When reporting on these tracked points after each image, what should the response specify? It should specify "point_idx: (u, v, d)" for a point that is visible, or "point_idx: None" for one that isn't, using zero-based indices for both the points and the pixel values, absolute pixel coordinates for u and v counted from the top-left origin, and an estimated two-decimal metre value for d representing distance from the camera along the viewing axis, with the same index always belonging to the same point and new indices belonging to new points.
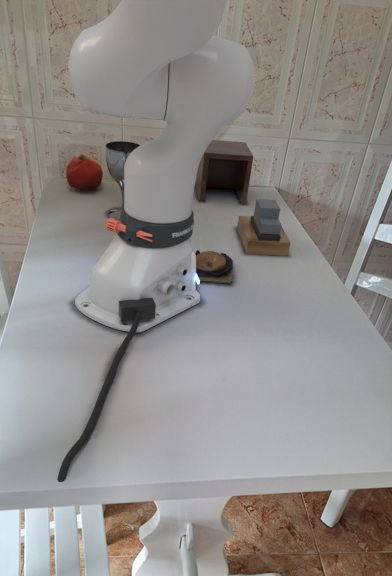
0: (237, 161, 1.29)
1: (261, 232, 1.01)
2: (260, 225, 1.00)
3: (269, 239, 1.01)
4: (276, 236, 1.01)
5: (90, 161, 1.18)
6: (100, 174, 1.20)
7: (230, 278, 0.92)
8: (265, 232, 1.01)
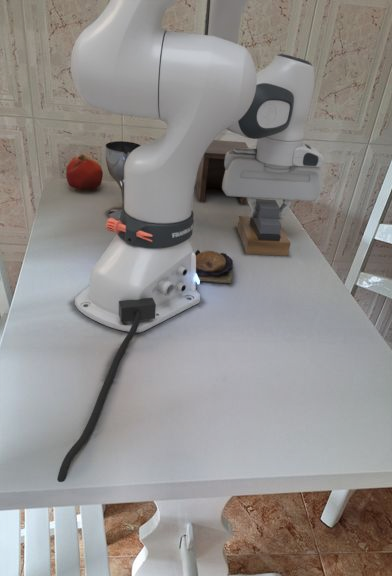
0: None
1: (261, 232, 1.01)
2: (260, 225, 1.00)
3: (269, 239, 1.01)
4: (276, 236, 1.01)
5: (90, 161, 1.18)
6: (100, 174, 1.20)
7: (230, 278, 0.92)
8: (265, 232, 1.01)
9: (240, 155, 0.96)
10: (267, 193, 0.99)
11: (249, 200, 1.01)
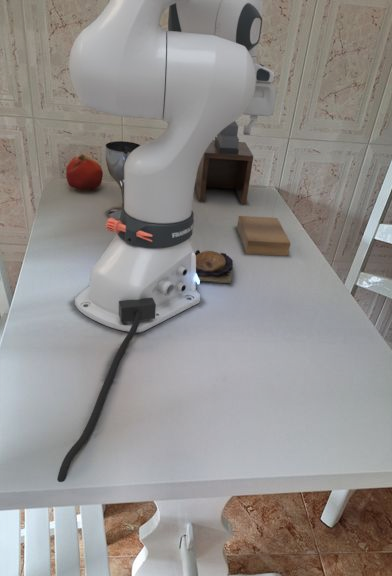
0: (237, 161, 1.29)
1: (221, 146, 1.16)
2: (220, 140, 1.16)
3: (228, 153, 1.17)
4: (234, 150, 1.17)
5: (90, 161, 1.18)
6: (100, 174, 1.20)
7: (230, 278, 0.92)
8: (225, 146, 1.16)
9: None
10: None
11: None
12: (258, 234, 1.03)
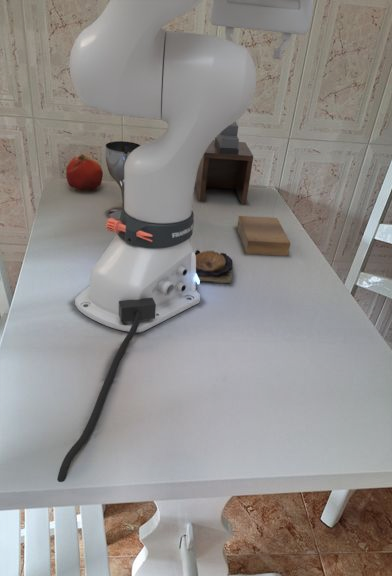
0: (237, 161, 1.29)
1: (221, 146, 1.16)
2: (220, 140, 1.16)
3: (228, 153, 1.17)
4: (234, 150, 1.17)
5: (90, 161, 1.18)
6: (100, 174, 1.20)
7: (230, 278, 0.92)
8: (225, 146, 1.16)
9: None
10: (255, 22, 0.95)
11: (227, 31, 0.96)
12: (258, 234, 1.03)
